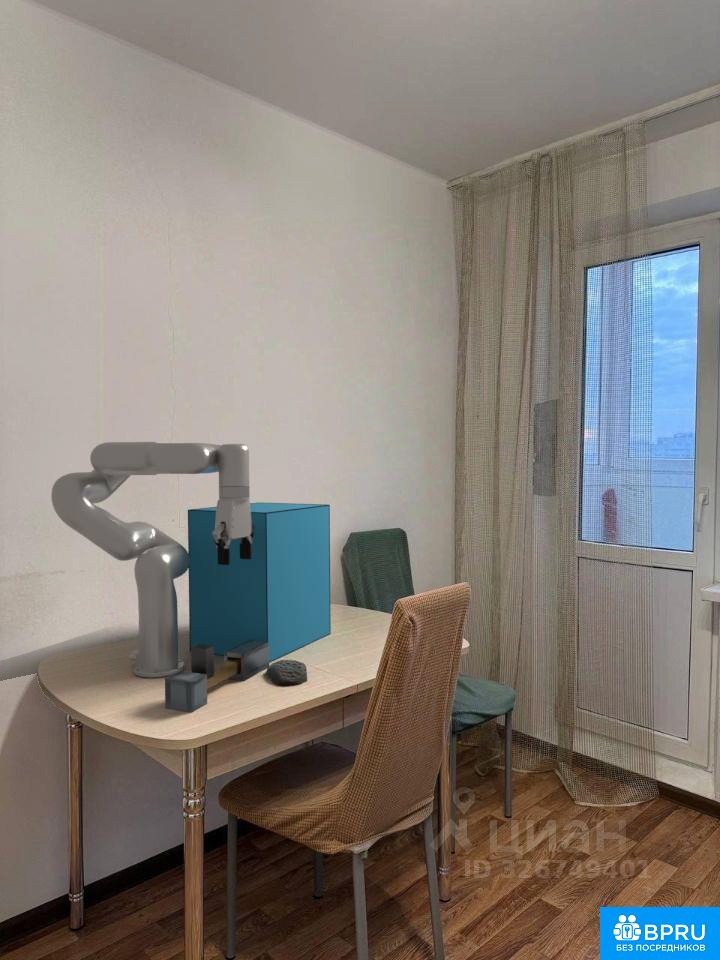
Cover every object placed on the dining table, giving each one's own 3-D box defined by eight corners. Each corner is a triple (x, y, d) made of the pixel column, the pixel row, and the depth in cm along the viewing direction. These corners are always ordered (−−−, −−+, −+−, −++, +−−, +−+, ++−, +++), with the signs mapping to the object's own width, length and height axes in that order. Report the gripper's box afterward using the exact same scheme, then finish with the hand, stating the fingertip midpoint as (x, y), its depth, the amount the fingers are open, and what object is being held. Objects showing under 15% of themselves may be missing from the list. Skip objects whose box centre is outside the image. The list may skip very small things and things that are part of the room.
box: (330, 634, 207) (329, 504, 206) (267, 663, 177) (266, 512, 176) (259, 624, 219) (258, 502, 218) (189, 651, 189) (187, 509, 188)
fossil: (305, 670, 173) (305, 655, 173) (308, 686, 160) (308, 670, 160) (266, 672, 171) (266, 657, 171) (265, 688, 159) (265, 672, 159)
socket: (165, 707, 146) (164, 678, 146) (181, 699, 151) (180, 670, 151) (191, 712, 143) (191, 682, 143) (207, 703, 148) (206, 674, 148)
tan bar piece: (176, 696, 147) (175, 653, 147) (232, 667, 167) (232, 629, 167) (191, 699, 145) (190, 655, 145) (246, 669, 166) (245, 631, 165)
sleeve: (224, 678, 165) (224, 652, 165) (250, 664, 176) (250, 639, 176) (244, 681, 163) (243, 654, 163) (269, 666, 174) (269, 641, 174)
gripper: (240, 491, 177) (241, 556, 177) (200, 495, 161) (201, 566, 161) (265, 492, 174) (265, 557, 174) (227, 495, 158) (228, 567, 158)
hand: (235, 561), depth 168 cm, fingers open, 9 cm apart
